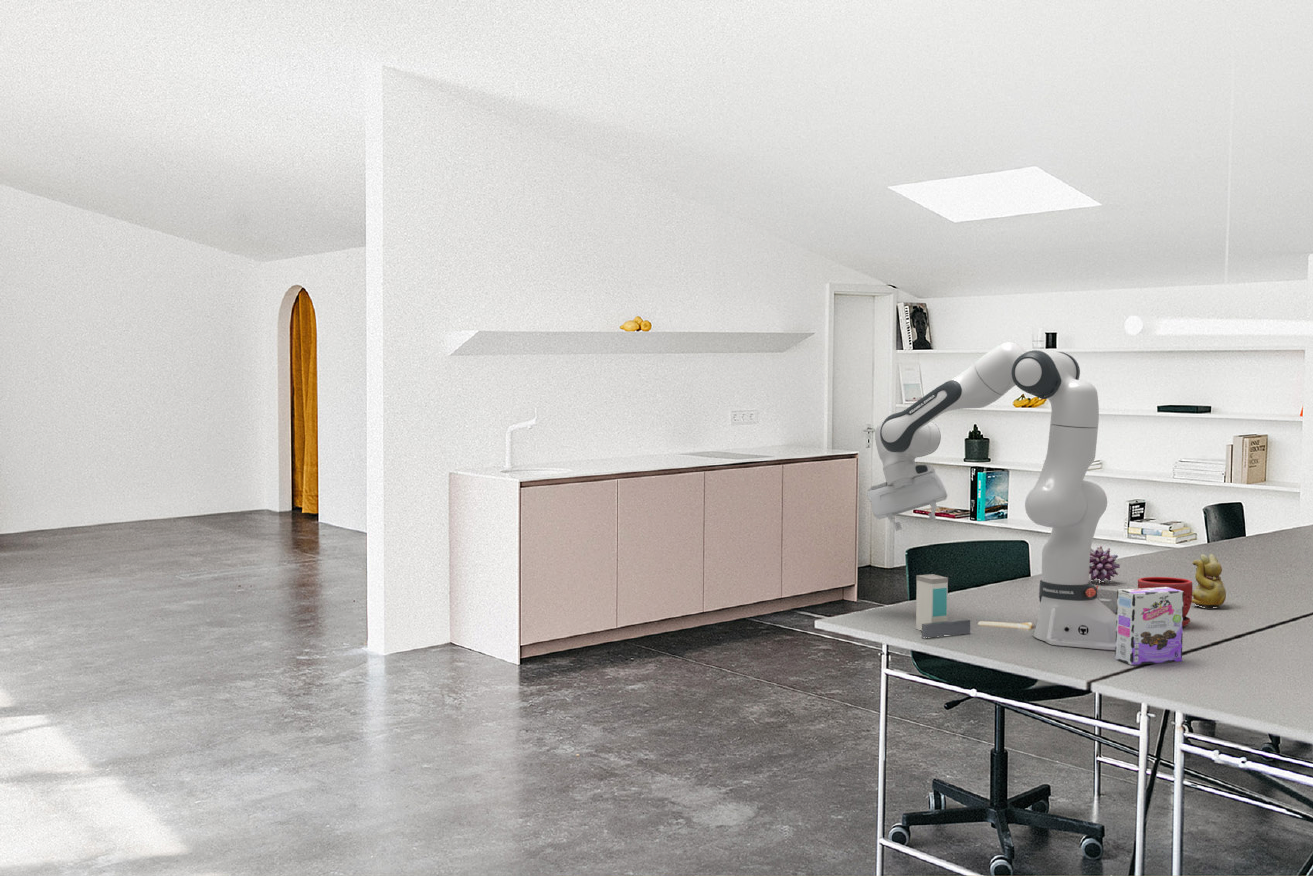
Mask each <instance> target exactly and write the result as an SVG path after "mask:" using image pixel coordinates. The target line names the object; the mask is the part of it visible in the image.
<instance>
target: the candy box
mask: <svg viewBox="0 0 1313 876" xmlns="http://www.w3.org/2000/svg"><path fill="white" fill-rule="evenodd" d="M1116 590H1117V591H1116V594H1117V595H1116V615H1117V617H1116V647H1115V650H1114V652H1115V653H1114V659H1115V660H1117V661H1119V662H1123V663H1125V664H1128V665H1130V666H1135V665H1136V666H1138V665H1149V664H1164V663H1177V662H1179V663H1180V662H1183V635H1184V634H1183V633H1184V632H1183V631H1184V629H1183V628H1184V626H1183V593H1184V592H1183V591H1181V590H1177V589H1173V588H1169V587H1157V588H1139V589H1138V588H1117V589H1116Z"/></svg>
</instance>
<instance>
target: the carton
mask: <svg viewBox="0 0 1313 876" xmlns="http://www.w3.org/2000/svg"><path fill="white" fill-rule="evenodd" d="M915 577H916V579H915V580H916V598H915V599H916V601H915V602H916V603H915V604H916V606H915V607H916V608H915V609H916V612H915V613H916V615H915V616H916V617H915V621H916V622H915V630H916V629H919V630H922V624H925V623H934V622H943V621H948V599H949V598H948V591H949V590H948V588H949V587H948V585H949V584H948V583H949V577H946V576H942V575H938V574H933V573H931V574H930V573H929V574H919V575H917V574H916V575H915Z"/></svg>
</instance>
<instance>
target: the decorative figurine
mask: <svg viewBox="0 0 1313 876" xmlns="http://www.w3.org/2000/svg"><path fill="white" fill-rule="evenodd" d="M1208 556H1209V557H1208ZM1192 565H1193V566H1196V572H1195V577H1194V578H1195V581H1196V582H1197V583H1198V584H1197V585H1196V587H1195V588H1194V589H1192V602H1191V604H1192V603H1193V604H1194V605H1195V604H1196V605H1199V606H1202V607H1205V608H1213V607H1219V608H1220V606H1222V605H1224V603H1225V601H1226V598H1227V591H1226V588H1225V586H1224V581H1222V578H1221V576H1220V575H1221V574H1222V571H1223V568H1222V565H1221V564H1220V562H1219V560H1218V558H1217V556H1216V555H1215V554H1213V553H1210V554H1209V555H1206V554H1203V553H1202V554H1200V559H1194V560H1193V561H1192Z"/></svg>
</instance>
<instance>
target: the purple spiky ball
mask: <svg viewBox="0 0 1313 876" xmlns="http://www.w3.org/2000/svg"><path fill="white" fill-rule="evenodd" d="M1110 552H1111V548H1107V550H1105V551H1104V548H1103V546H1102V545H1100V546H1099V547H1098V546H1097V547H1096V549H1095V550H1094V549H1092V548H1091V550H1090V564H1089V575H1090V580H1093V581H1094V580H1096V579H1100V580H1101V581H1104V582H1105V579H1106V580H1107V581H1109V580H1112V578H1111V577H1113V578H1115V575H1117V576H1118V575H1119V573H1118V572H1117V570H1116V569H1120V567H1121V564H1120V563H1117V562H1116V560H1117V558H1118V557H1119V555H1118V554H1112V555H1110V554H1111V553H1110Z"/></svg>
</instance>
